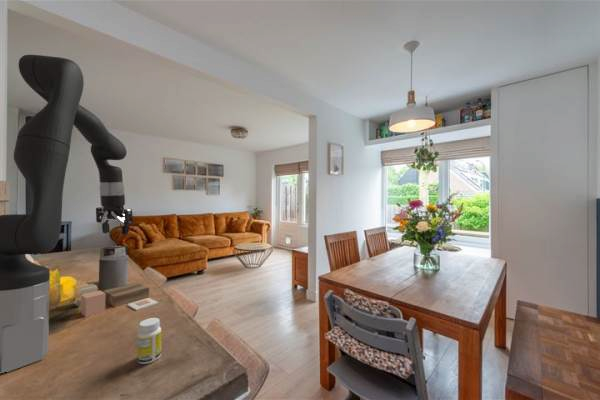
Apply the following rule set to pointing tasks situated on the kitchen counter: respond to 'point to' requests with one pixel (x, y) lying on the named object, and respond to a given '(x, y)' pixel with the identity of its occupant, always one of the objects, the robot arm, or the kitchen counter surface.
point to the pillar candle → (113, 271)
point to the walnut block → (126, 294)
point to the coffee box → (113, 251)
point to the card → (142, 304)
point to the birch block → (86, 291)
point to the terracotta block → (92, 303)
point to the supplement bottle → (149, 341)
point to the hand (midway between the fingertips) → (115, 233)
